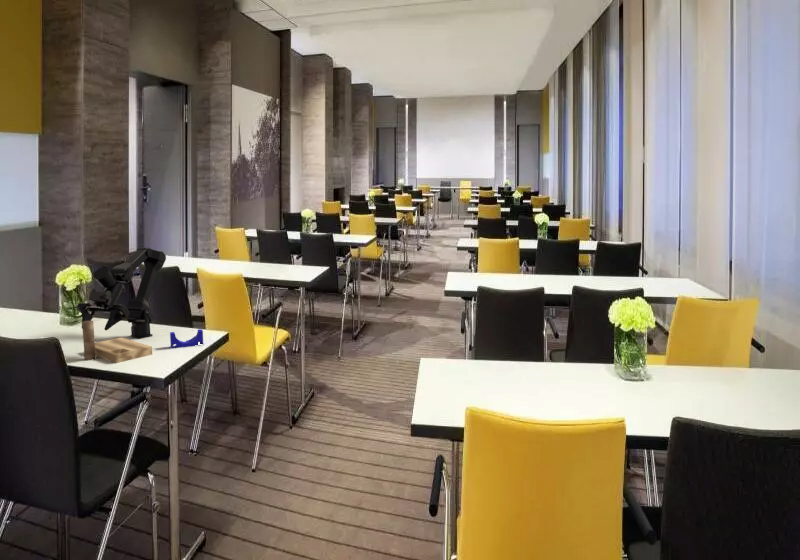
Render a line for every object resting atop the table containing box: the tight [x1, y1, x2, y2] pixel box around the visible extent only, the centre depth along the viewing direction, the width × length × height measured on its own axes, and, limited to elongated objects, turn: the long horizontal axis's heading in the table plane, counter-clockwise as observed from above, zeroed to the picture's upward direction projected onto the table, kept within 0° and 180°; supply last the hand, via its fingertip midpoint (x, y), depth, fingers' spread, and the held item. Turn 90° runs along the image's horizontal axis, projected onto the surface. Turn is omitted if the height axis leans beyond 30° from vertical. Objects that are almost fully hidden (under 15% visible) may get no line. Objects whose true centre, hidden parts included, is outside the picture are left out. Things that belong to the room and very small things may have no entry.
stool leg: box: [81, 320, 97, 361], centre depth 211 cm, size 4×4×14 cm
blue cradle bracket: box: [169, 328, 204, 349], centre depth 231 cm, size 12×4×6 cm, turn 118°
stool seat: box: [95, 337, 153, 364], centre depth 219 cm, size 14×22×3 cm, turn 54°
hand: (93, 329), depth 214 cm, fingers open, 9 cm apart
